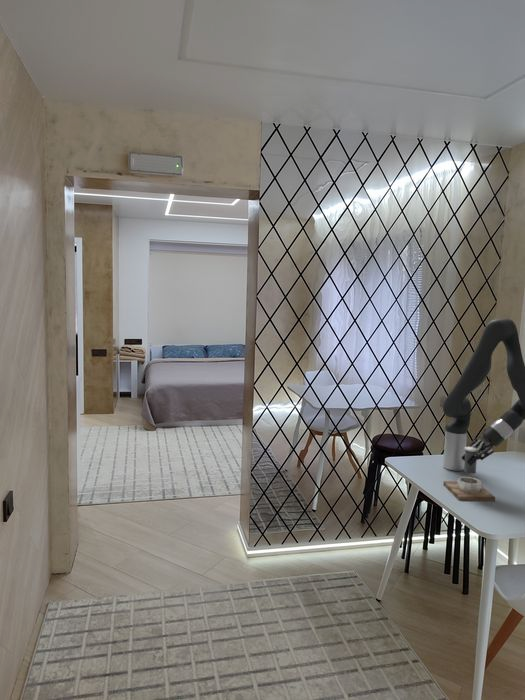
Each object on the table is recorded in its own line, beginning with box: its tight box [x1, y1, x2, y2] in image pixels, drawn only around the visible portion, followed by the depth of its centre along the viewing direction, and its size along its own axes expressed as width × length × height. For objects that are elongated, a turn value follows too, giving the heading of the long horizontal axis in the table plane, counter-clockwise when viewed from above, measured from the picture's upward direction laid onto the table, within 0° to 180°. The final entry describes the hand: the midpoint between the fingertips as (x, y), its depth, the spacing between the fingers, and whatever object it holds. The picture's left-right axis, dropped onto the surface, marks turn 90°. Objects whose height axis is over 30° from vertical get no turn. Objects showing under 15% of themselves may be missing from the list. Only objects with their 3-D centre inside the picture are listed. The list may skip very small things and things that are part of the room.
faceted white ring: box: [456, 476, 482, 493], centre depth 201 cm, size 9×9×4 cm
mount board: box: [443, 480, 496, 502], centre depth 201 cm, size 16×14×2 cm
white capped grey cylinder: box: [463, 446, 478, 474], centre depth 200 cm, size 5×5×10 cm
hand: (465, 461), depth 200 cm, fingers closed on white capped grey cylinder, 4 cm apart
